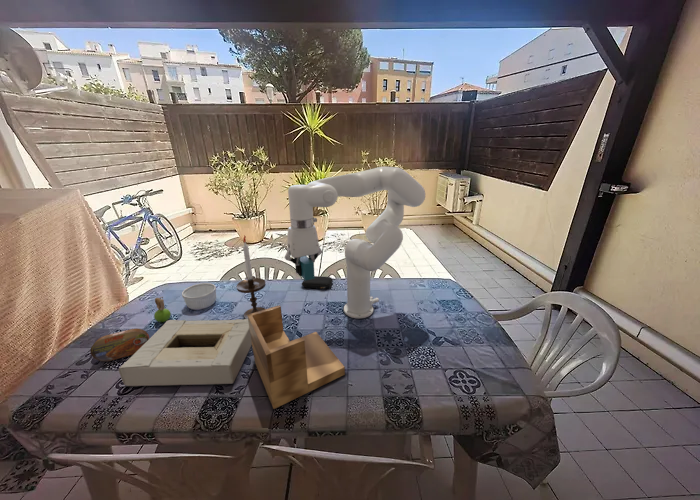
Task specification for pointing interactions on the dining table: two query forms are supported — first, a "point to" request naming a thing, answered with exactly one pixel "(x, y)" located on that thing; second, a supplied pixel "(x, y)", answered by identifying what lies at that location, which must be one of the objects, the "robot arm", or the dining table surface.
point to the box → (190, 354)
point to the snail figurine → (161, 311)
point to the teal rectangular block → (307, 268)
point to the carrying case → (318, 282)
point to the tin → (119, 344)
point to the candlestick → (250, 283)
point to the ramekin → (200, 296)
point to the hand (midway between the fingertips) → (305, 272)
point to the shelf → (289, 358)
